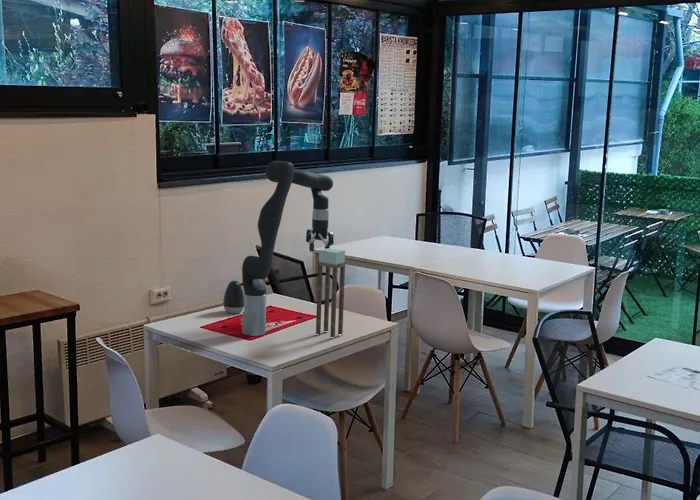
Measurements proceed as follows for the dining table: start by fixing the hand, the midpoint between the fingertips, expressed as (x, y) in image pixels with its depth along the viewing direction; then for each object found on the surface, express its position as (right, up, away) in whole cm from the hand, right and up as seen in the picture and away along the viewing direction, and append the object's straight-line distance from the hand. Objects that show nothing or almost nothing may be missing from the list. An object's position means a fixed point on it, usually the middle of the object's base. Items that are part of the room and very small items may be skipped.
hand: (319, 252), depth 368 cm
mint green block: (+7, -3, -31) cm, 32 cm away
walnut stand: (+5, -35, -31) cm, 47 cm away
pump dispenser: (-40, -28, +1) cm, 49 cm away
